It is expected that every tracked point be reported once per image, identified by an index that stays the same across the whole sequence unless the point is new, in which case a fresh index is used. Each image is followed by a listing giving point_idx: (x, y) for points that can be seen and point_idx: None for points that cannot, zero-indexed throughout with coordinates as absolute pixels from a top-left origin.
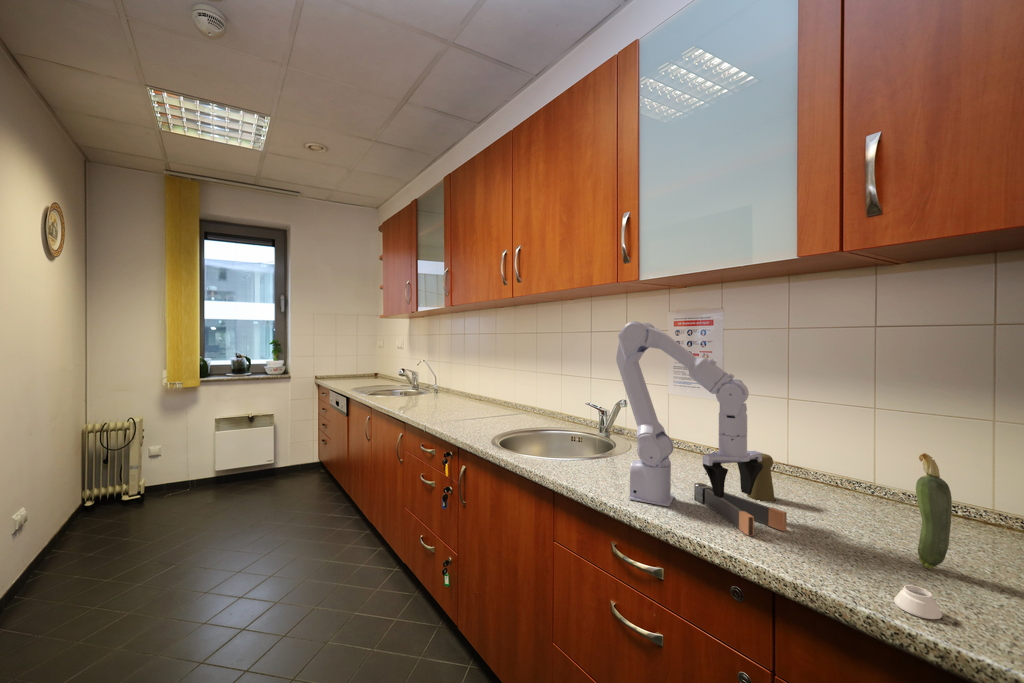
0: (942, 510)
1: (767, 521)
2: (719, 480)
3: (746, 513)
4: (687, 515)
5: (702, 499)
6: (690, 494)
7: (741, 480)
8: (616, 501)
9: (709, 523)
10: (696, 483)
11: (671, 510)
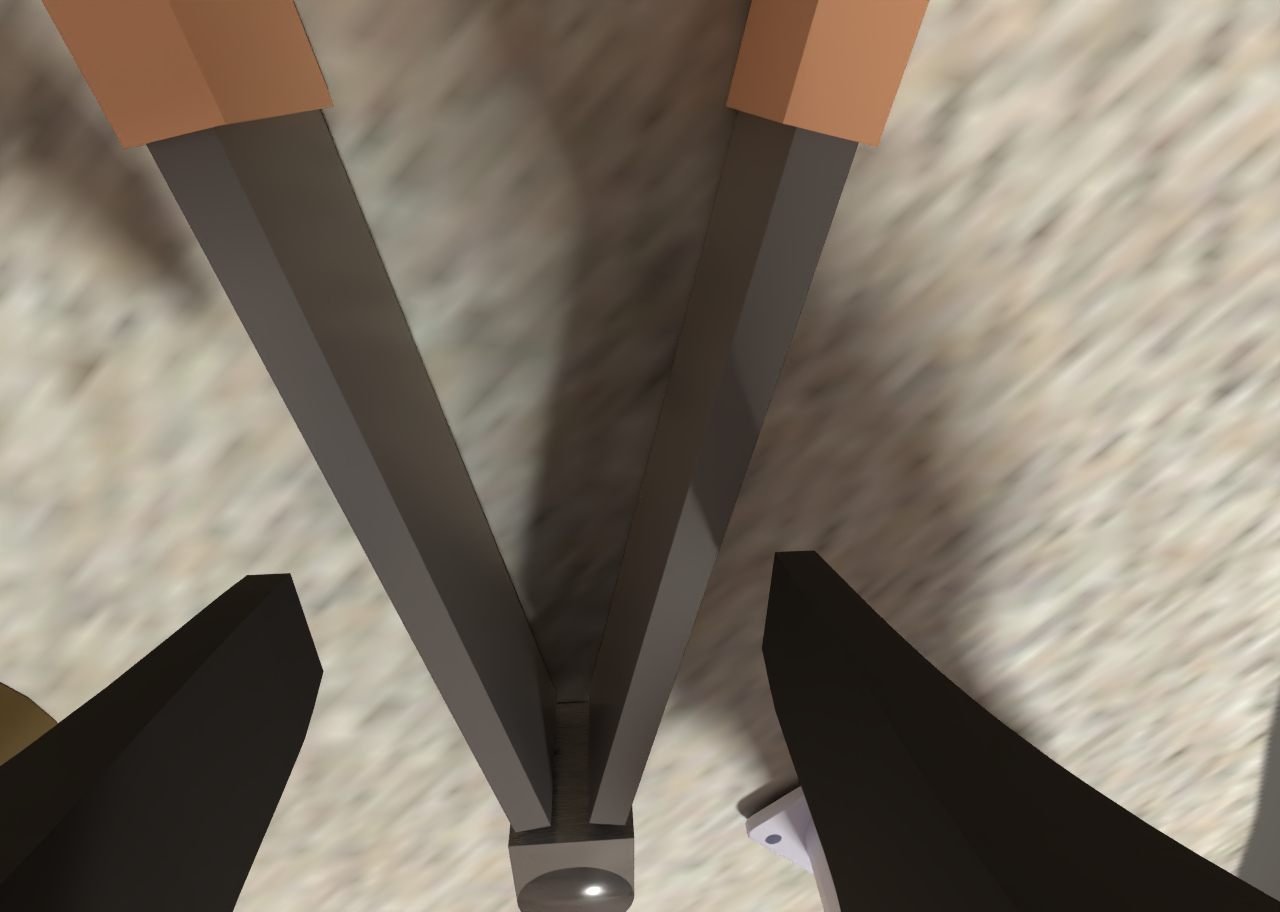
0: None
1: (313, 138)
2: (1060, 768)
3: (849, 13)
4: (953, 546)
5: None
6: None
7: (248, 841)
8: (1185, 804)
9: (931, 361)
10: None
11: (982, 643)
